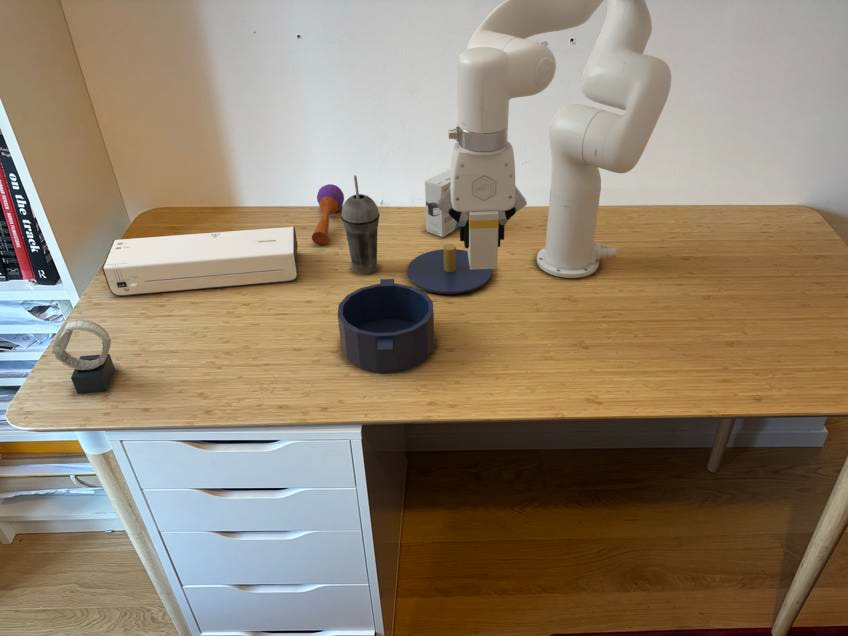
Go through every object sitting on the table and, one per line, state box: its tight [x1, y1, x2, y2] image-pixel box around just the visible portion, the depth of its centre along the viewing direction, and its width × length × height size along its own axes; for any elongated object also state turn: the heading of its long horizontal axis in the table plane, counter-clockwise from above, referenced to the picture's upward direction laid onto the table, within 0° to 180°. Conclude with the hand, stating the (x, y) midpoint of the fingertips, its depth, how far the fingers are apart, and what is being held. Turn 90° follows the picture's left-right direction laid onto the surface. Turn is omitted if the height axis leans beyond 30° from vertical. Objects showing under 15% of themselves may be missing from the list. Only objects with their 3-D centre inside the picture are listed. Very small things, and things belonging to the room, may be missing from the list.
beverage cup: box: [340, 175, 380, 275], centre depth 136 cm, size 7×7×20 cm
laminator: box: [101, 226, 299, 297], centre depth 137 cm, size 34×12×6 cm, turn 102°
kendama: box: [311, 183, 345, 246], centre depth 156 cm, size 6×6×20 cm
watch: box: [51, 318, 116, 394], centre depth 110 cm, size 6×8×11 cm
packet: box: [466, 211, 499, 270], centre depth 118 cm, size 5×8×10 cm, turn 5°
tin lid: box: [406, 243, 493, 295], centre depth 139 cm, size 17×17×6 cm
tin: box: [337, 278, 435, 374], centre depth 120 cm, size 16×21×8 cm
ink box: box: [424, 169, 460, 238], centre depth 154 cm, size 8×5×12 cm, turn 144°
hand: (481, 242), depth 119 cm, fingers closed on packet, 4 cm apart
